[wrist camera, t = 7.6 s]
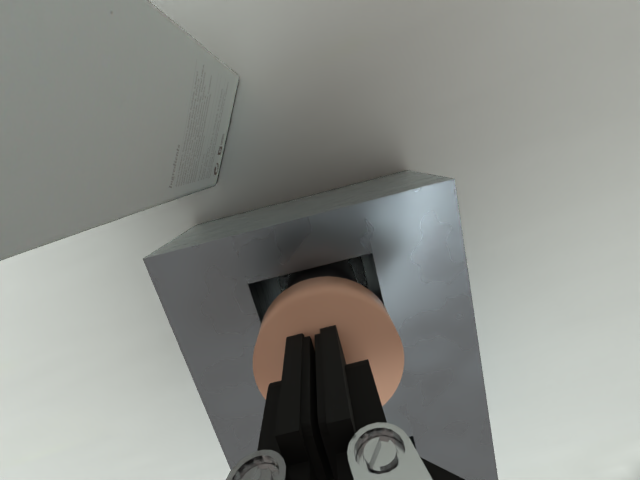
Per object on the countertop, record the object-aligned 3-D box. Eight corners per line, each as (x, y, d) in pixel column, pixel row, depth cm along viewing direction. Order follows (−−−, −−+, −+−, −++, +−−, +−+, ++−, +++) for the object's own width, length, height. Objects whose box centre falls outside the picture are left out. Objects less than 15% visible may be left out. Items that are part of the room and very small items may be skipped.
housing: (407, 170, 18) (454, 178, 12) (454, 431, 22) (505, 528, 17) (196, 225, 18) (143, 258, 12) (284, 470, 23) (276, 578, 17)
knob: (355, 225, 17) (388, 278, 10) (374, 308, 19) (416, 409, 11) (264, 248, 18) (232, 316, 10) (289, 329, 19) (277, 441, 12)
